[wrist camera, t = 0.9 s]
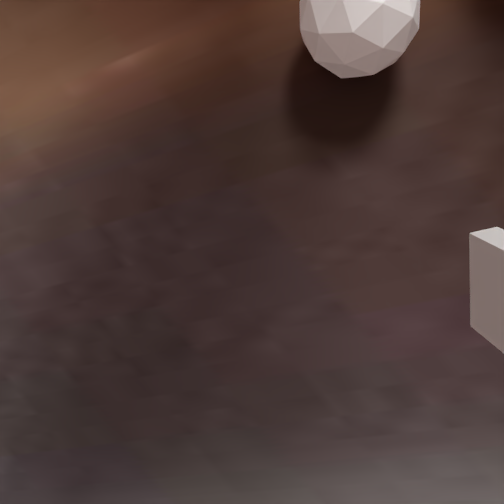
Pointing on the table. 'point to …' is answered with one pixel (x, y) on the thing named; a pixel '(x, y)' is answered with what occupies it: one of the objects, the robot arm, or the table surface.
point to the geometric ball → (358, 33)
